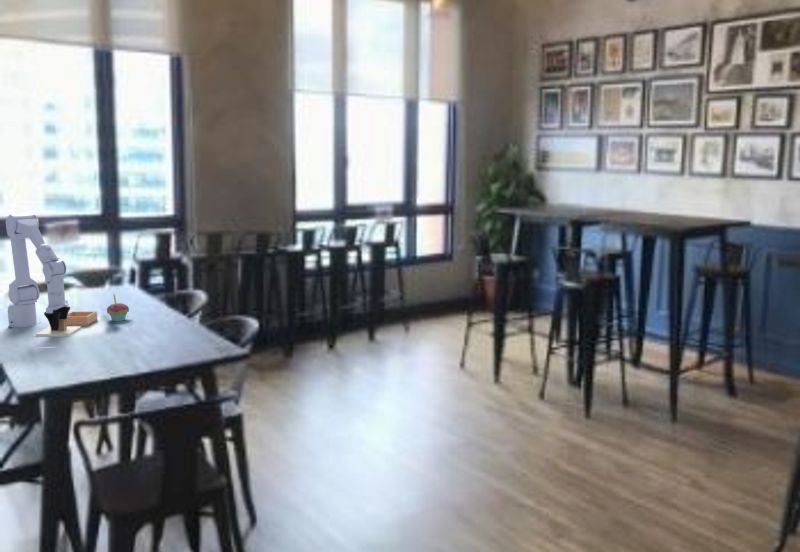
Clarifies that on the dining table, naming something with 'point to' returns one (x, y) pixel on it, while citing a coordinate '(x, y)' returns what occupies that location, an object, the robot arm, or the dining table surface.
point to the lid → (59, 330)
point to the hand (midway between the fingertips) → (58, 328)
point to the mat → (59, 336)
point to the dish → (81, 318)
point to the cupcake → (117, 311)
